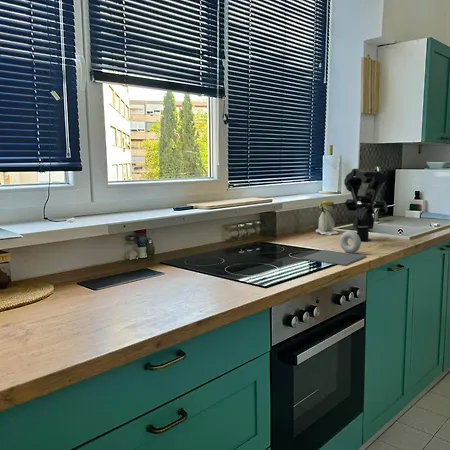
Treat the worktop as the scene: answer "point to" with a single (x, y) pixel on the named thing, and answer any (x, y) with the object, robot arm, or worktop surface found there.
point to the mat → (334, 257)
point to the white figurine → (326, 218)
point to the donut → (344, 243)
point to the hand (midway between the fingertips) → (360, 220)
